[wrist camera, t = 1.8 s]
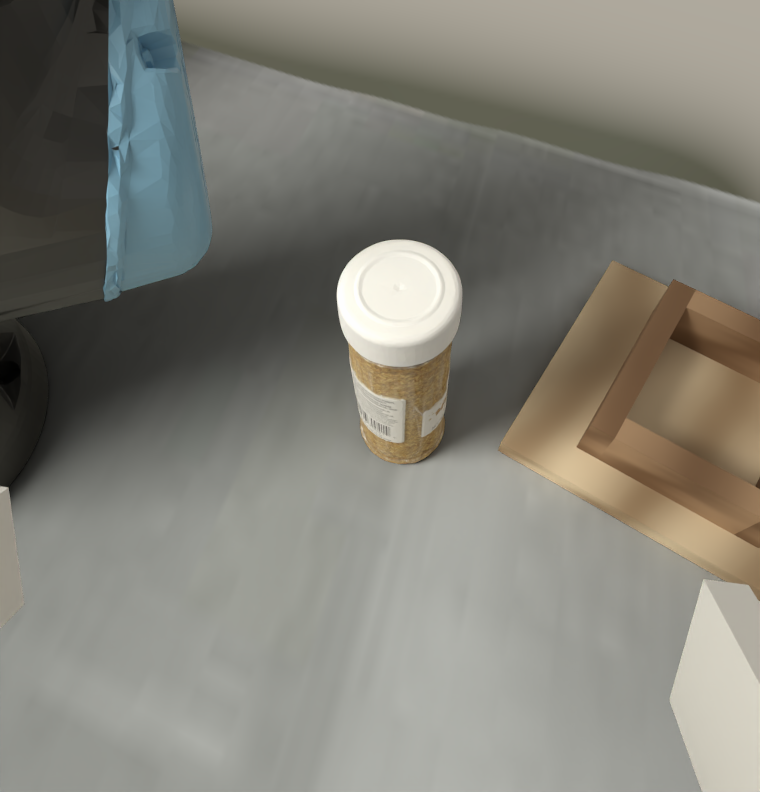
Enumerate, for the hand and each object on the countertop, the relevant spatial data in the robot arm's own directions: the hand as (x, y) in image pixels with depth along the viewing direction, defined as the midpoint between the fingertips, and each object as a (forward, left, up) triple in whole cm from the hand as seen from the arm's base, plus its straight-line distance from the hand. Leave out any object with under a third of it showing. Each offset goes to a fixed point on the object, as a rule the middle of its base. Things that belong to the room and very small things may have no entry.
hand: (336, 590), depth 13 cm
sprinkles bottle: (-5, +10, -21) cm, 24 cm away
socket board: (+8, +18, -21) cm, 29 cm away
